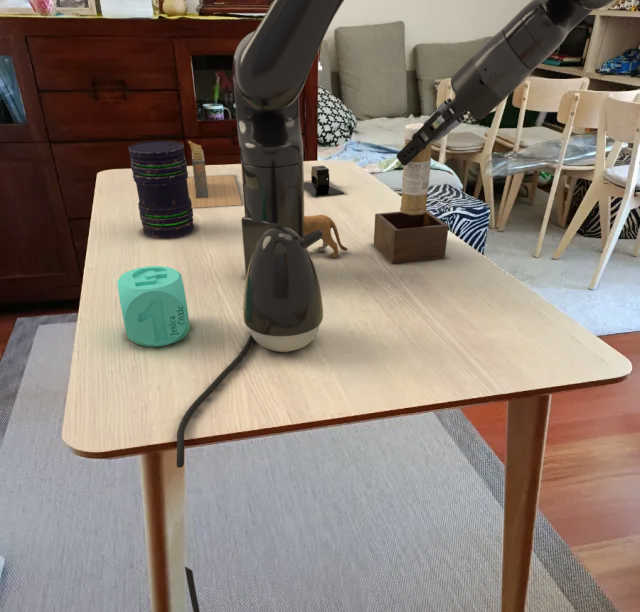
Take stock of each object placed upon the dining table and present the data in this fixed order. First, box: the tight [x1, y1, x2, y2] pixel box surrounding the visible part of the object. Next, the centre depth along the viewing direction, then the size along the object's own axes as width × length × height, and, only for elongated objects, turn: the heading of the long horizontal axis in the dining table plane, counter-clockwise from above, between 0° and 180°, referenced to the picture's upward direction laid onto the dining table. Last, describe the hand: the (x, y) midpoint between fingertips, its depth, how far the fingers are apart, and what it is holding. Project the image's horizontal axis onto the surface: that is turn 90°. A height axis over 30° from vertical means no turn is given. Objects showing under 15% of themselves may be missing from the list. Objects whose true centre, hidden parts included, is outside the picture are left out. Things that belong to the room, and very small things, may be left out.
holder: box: [373, 210, 450, 265], centre depth 106 cm, size 10×10×6 cm
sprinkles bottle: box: [399, 122, 433, 215], centre depth 99 cm, size 5×5×14 cm
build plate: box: [304, 165, 345, 198], centre depth 139 cm, size 12×7×5 cm, turn 20°
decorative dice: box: [116, 265, 191, 348], centre depth 80 cm, size 8×8×8 cm
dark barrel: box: [128, 140, 195, 240], centre depth 112 cm, size 10×10×15 cm
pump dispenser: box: [242, 226, 324, 353], centre depth 76 cm, size 10×10×15 cm
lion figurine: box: [304, 214, 349, 259], centre depth 104 cm, size 15×5×9 cm, turn 92°
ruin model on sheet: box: [187, 140, 243, 209], centre depth 136 cm, size 25×16×10 cm, turn 11°
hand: (405, 157), depth 99 cm, fingers closed on sprinkles bottle, 4 cm apart
